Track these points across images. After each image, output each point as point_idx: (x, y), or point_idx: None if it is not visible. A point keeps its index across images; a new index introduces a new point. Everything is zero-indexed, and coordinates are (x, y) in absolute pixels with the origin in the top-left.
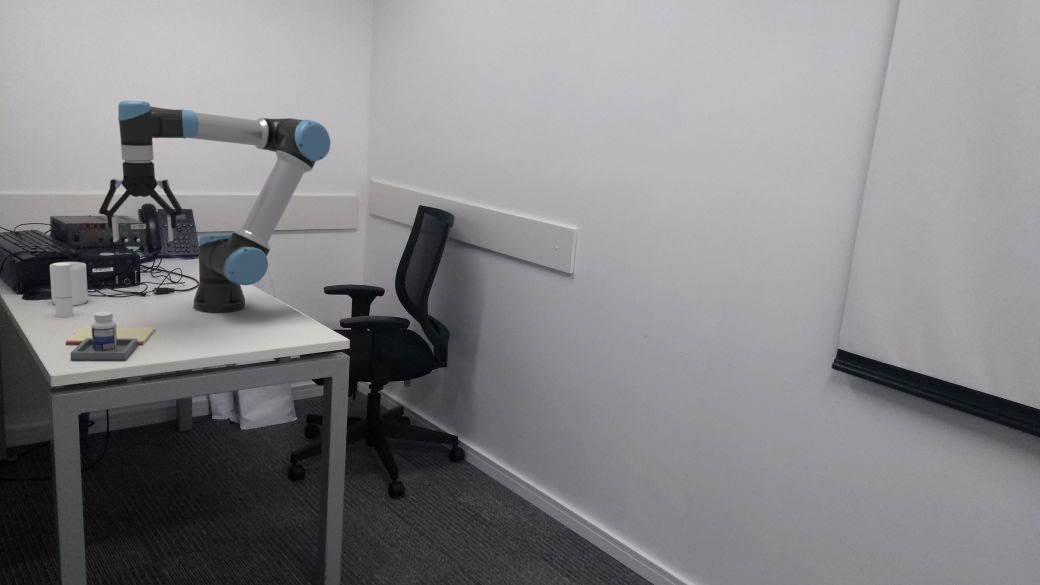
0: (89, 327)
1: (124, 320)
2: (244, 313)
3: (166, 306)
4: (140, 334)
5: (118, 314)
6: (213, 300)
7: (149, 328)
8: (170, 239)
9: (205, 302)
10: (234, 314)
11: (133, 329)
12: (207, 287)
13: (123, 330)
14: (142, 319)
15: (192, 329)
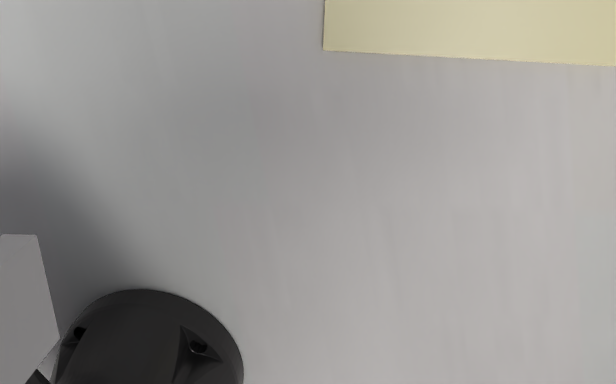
0: (599, 53)
1: (464, 201)
2: (51, 280)
3: (337, 374)
4: None
5: (495, 283)
6: (141, 325)
7: (343, 36)
8: (3, 243)
9: (176, 325)
10: (81, 269)
11: (407, 18)
12: (150, 381)
13: (448, 1)
14: (397, 213)
15: (179, 63)
